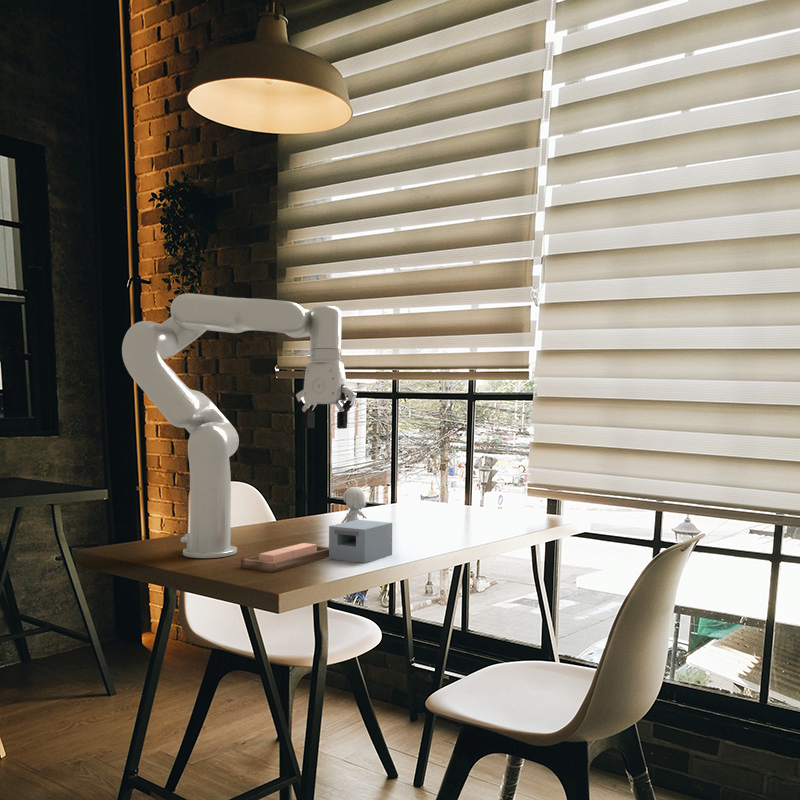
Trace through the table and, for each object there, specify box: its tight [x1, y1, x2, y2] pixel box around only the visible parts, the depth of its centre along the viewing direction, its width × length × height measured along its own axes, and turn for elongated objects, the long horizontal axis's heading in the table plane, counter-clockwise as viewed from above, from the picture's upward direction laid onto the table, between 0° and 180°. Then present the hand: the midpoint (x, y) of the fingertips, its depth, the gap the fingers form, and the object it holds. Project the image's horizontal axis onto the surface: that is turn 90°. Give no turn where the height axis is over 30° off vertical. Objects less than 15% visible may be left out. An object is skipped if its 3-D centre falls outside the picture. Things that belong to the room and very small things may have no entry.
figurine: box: [340, 486, 367, 524], centre depth 187 cm, size 10×6×15 cm, turn 146°
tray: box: [240, 545, 329, 573], centre depth 166 cm, size 10×22×2 cm, turn 150°
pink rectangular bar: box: [258, 542, 318, 563], centre depth 166 cm, size 4×16×2 cm, turn 150°
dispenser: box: [328, 519, 393, 564], centre depth 171 cm, size 10×12×8 cm
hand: (325, 428), depth 175 cm, fingers open, 9 cm apart
